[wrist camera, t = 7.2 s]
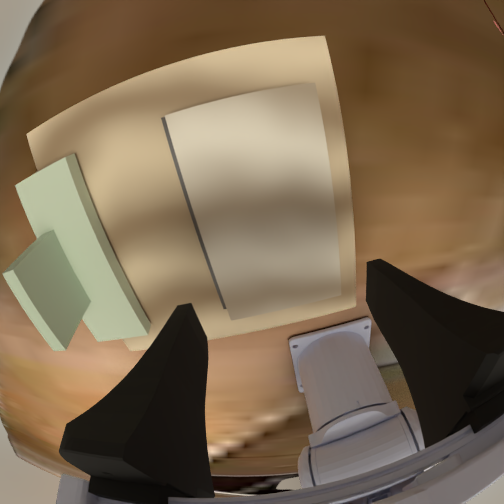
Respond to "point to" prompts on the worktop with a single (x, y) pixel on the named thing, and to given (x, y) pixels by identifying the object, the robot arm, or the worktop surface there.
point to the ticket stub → (70, 263)
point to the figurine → (494, 17)
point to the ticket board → (155, 188)
